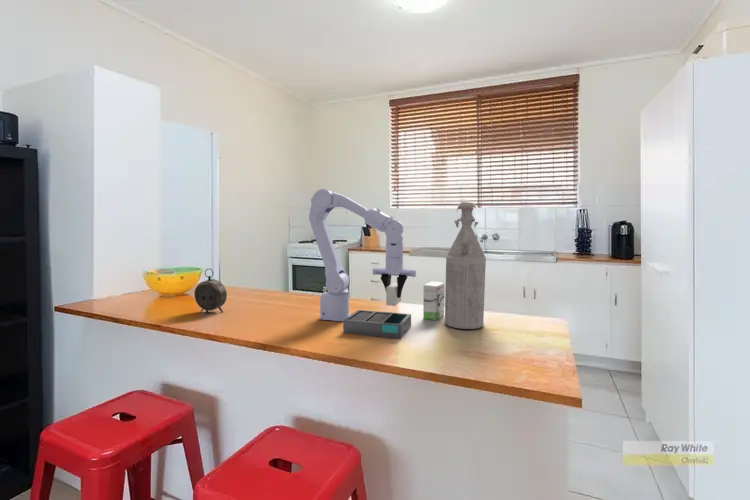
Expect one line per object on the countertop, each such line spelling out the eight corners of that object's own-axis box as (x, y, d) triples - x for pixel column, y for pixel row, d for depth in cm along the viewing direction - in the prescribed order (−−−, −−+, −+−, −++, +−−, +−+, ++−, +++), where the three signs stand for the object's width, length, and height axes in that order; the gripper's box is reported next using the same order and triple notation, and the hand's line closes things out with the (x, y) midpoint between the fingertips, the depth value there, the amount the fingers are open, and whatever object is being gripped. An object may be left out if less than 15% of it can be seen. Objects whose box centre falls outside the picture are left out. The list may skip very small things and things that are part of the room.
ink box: (436, 320, 132) (436, 286, 131) (422, 318, 134) (423, 284, 133) (444, 314, 139) (445, 282, 138) (431, 313, 142) (431, 280, 141)
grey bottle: (442, 330, 121) (444, 201, 117) (446, 315, 138) (448, 202, 134) (484, 333, 118) (488, 200, 114) (484, 318, 134) (487, 202, 131)
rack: (342, 333, 118) (342, 320, 118) (358, 321, 131) (358, 309, 130) (400, 339, 112) (401, 325, 112) (411, 326, 125) (411, 314, 125)
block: (386, 305, 128) (386, 287, 127) (392, 300, 136) (392, 282, 135) (395, 305, 127) (395, 287, 127) (401, 300, 135) (401, 283, 134)
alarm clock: (228, 311, 144) (226, 268, 142) (219, 315, 139) (217, 270, 137) (202, 310, 147) (200, 267, 145) (192, 313, 141) (190, 269, 140)
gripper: (369, 257, 128) (369, 297, 130) (413, 258, 124) (412, 300, 125) (376, 254, 135) (376, 293, 136) (417, 256, 131) (417, 296, 132)
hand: (393, 296), depth 131 cm, fingers closed on block, 3 cm apart
